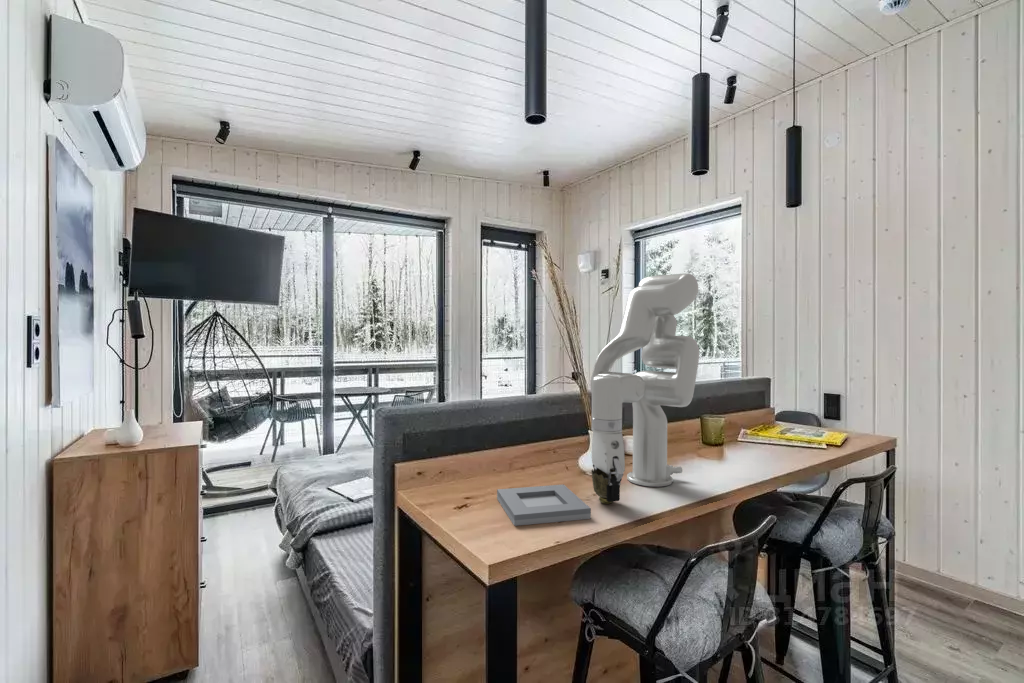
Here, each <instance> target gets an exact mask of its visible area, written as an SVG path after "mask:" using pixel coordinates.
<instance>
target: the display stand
mask: <svg viewBox="0 0 1024 683" xmlns="http://www.w3.org/2000/svg"><path fill="white" fill-rule="evenodd" d="M496 499H497V501H498V503H499V504H500V506H501V507H502V509H503V510H504V512H505V513H506V515H507V516H508V518H509V520H510V521H511V523H512V525H513V526H514V527H516V526H517V527H518V526H527V525H538V524H549V523H550V524H551V523H559V522H560V523H561V522H570V521H579V520H591V518H592V517H591V516H592V514H591V513H592V512H591V511H592V507H590V506H589V505H588V504H586V502H585V501H583V500H582V499H581V498H580V497H579V496H578V495H577V494H575V493H574V492H573V491H572V490H571V489H569V488H568V487H567V486H566V485H565V484H551V485H539V486H538V485H537V486H527V487H526V486H524V487H513V488H498V489H496Z"/></svg>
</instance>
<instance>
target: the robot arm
mask: <svg viewBox="0 0 1024 683" xmlns="http://www.w3.org/2000/svg"><path fill="white" fill-rule="evenodd" d="M698 283H699V282H698V280H697V278H696V277H695V275H693V274H692V273H674V274H673V273H672V274H659V275H658V274H657V275H650V276H647V277H644V278H642V279H641V280H640V281H639V282H638V286H636V287H634V288H633V289H631V290H630V292H629V293H628V298H627V300H626V305H625V308H624V312H623V315H622V320H621V324H620V329H619V332H618V334H617V335H616V336H615V337H614V338H613V339H611V341H610V342H608V344H607V345H605V347H604V348H602V350H601V351H600V352H599V354H598V355H597V357H596V360H595V362H594V364H593V370H592V372H591V377H590V383H589V386H590V392H591V432H592V438H591V440H592V441H591V463H592V467H593V471H594V468H595V469H596V470H598V468H599V469H600V470H602V471H603V472H605V473H606V474H607V479H608V485H607V501H608V502H612V501H613V502H619V501H620V498H621V497H620V496H621V494H620V493H621V488H620V487H621V485H622V482H621V481H622V478H623V476H624V473H625V468H626V467H625V466H626V465H625V464H626V463H625V460H626V459H625V445H624V437H623V433H622V432H623V403H630V404H631V403H632V404H631V406H632V471H630V472H627V475H626V479H627V480H628V481H629V482H631V483H633V484H635V485H638V486H639V485H640V486H643V487H644V486H645V487H650V488H651V487H656V488H657V487H659V488H660V487H667V486H670V485H672V483H673V477H672V475H673V474H682V473H683V467H682V466H681V465H679V466H673V464H672V465H671V464H670V465H669V464H668V418H667V415H666V413H665V412H664V410H663V408H662V407H661V406H665V407H666V406H667V407H673V408H676V407H677V408H686V407H688V406H689V405H690V404H691V402H692V401H693V397H694V394H695V387H696V382H697V381H696V380H697V374H698V368H699V363H700V362H699V360H700V349H699V344H698V342H697V341H696V340H695V338H693V337H691V336H687V335H676V334H677V333H676V332H677V326H678V322H677V318H676V317H675V316H676V315H678V314H680V313H681V312H683V311H684V310H685V309H686V308H688V307H689V306H690V305H691V304H692V303H694V301H695V299H696V298H697V295H698V293H699V284H698ZM640 349H641V361H642V363H643V364H644V365H645V366H646V367H649V368H654V369H655V368H656V369H669V370H676V371H663V370H640V371H637V372H635V373H630V372H629V373H628V372H618V371H617V372H616V371H612V368H613V367H614V365H615V364H616V363H617V362H618V361H619V360H620V359H622V358H623V357H625V356H627V355H629V354H631V353H634V352H636V351H638V350H640ZM610 470H615V472H610ZM611 475H615V476H613V478H612V479H611Z"/></svg>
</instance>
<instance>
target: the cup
mask: <svg viewBox="0 0 1024 683" xmlns="http://www.w3.org/2000/svg"><path fill="white" fill-rule="evenodd" d="M593 470H594V471H593ZM590 471H591V479H592V487H593V491H594V493H595V494H596V495H597V496H598V500H599V501H598V502H600V503H601V504H604V505H610V504H613V503H614V501H612V502H608V501H607V485H608V479H607V474H606V473H605V472H603V471H602V470H600V469H599V468H598V470H596V469H595V468H593V469H591V470H590ZM610 472H615V470H610ZM613 476H615V475H611V479H612V478H613Z"/></svg>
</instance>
